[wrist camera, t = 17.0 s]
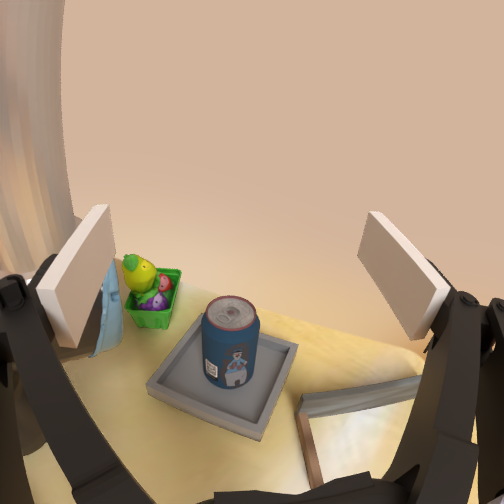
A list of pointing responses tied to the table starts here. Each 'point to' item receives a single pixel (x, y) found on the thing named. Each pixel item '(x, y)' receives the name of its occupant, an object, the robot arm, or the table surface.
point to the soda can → (229, 341)
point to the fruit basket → (149, 291)
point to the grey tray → (217, 399)
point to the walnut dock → (345, 411)
